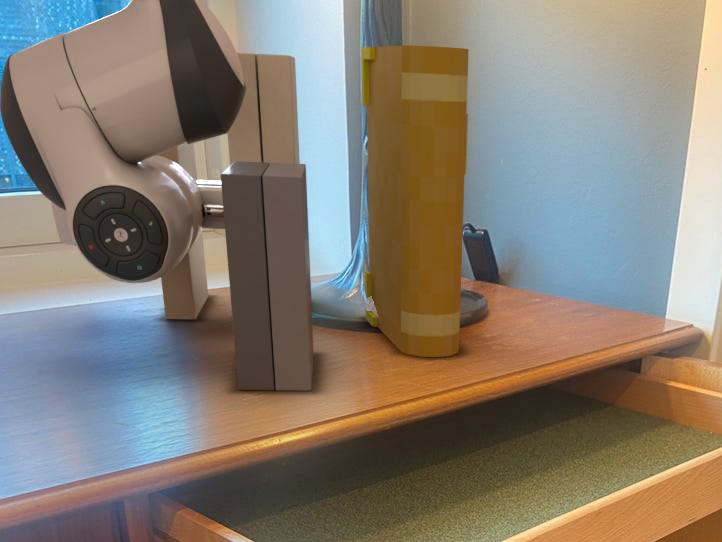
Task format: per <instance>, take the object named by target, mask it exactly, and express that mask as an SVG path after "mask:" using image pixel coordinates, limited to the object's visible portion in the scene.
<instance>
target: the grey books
mask: <svg viewBox="0 0 722 542" xmlns="http://www.w3.org/2000/svg"><path fill="white" fill-rule="evenodd" d="M220 181H221V185H222V198H223V210H224V222H225V229H224V233H225V244H226V254H227V255H226V257H227V271H228V281H229V292H230V306H231V316H232V328H233V340H234V341H233V342H234V354H235V355H234V356H235V365H236V366H235V367H236V377H237V379H236V380H237V388H238V391H291V392H292V391H295V392H296V391H297V392H299V391H300V392H306V391H307V392H310V391H311V392H312V386H313V373H314V372H313V371H314V370H313V369H314V355H315V354H314V327H313V307H312V306H313V305H312V284H311V283H312V282H311V281H312V280H311V259H310V234H309V212H308V211H309V208H308V187H307V184H308V183H307V165H306V163H300V164H291V163H271V164H270V163H265V162H240V161H235V162H234V163H233V164H232V165H231V166H230V165H229V166H228V167H227V168H225V170H224V171H223V172H222V173H220Z"/></svg>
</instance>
